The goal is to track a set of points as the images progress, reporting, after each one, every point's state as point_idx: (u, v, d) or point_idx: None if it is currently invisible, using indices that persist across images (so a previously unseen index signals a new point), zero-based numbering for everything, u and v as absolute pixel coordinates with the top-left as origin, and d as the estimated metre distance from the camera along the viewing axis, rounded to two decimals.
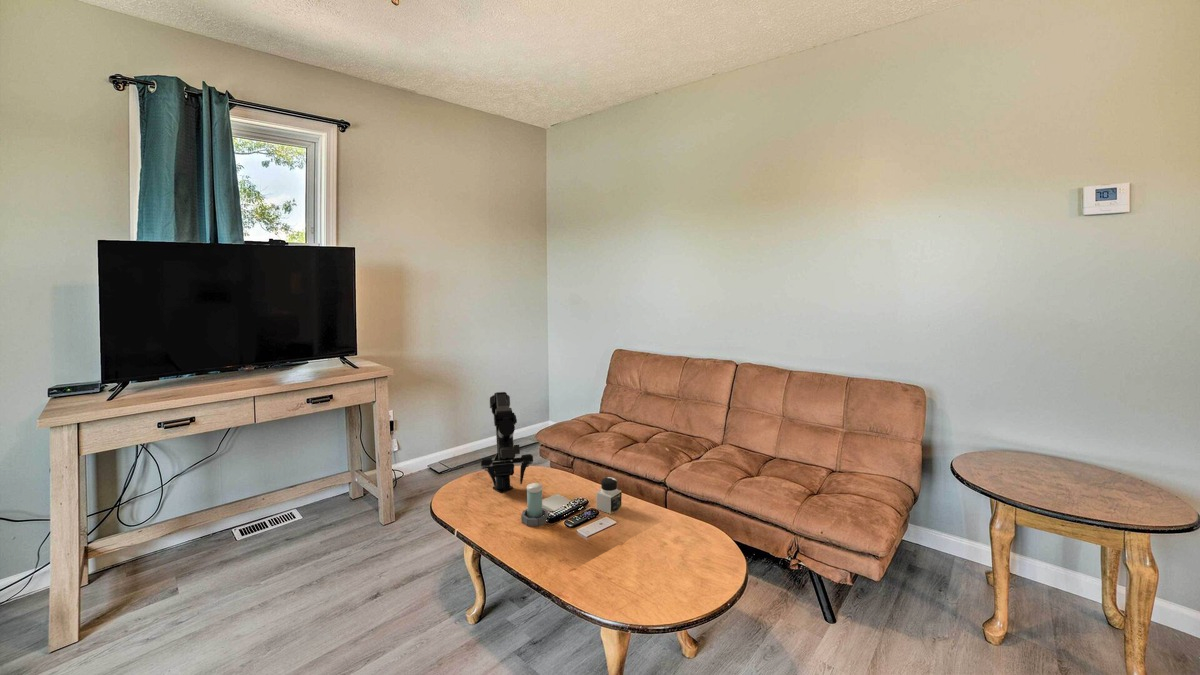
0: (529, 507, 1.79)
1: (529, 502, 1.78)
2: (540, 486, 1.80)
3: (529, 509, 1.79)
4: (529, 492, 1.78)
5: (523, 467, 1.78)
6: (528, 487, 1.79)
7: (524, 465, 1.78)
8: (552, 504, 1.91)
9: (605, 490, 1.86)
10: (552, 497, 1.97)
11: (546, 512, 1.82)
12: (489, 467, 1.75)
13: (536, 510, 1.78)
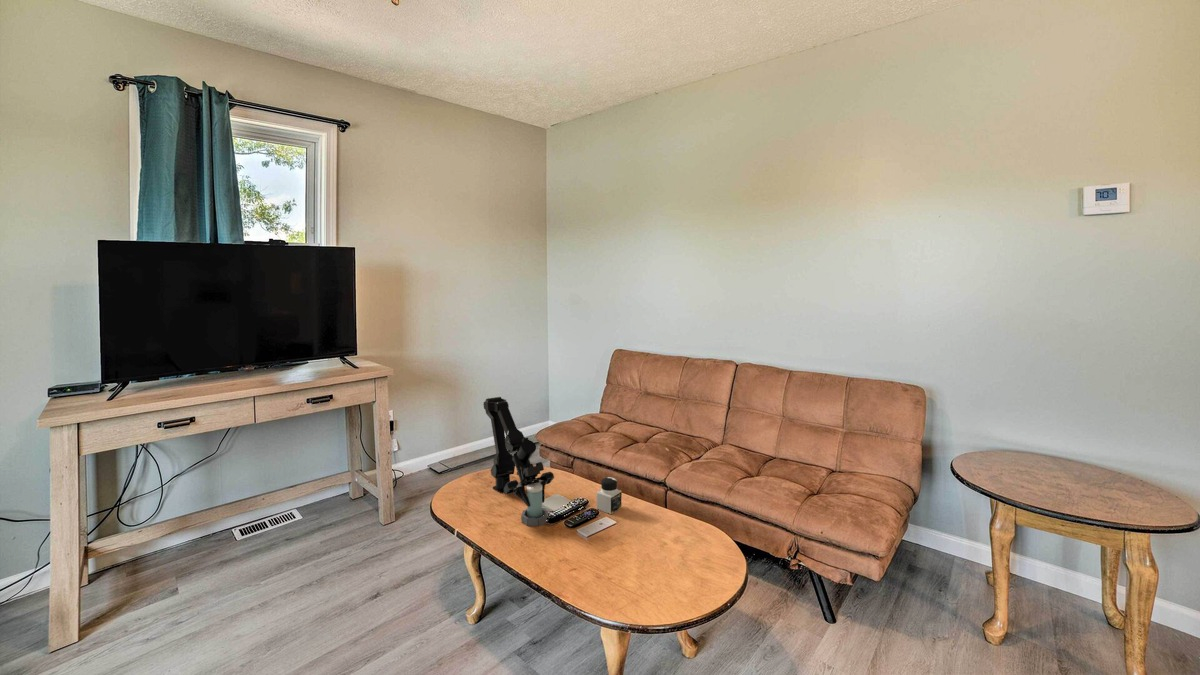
0: (529, 507, 1.79)
1: (529, 502, 1.78)
2: (540, 486, 1.80)
3: (529, 509, 1.79)
4: (529, 492, 1.78)
5: (542, 485, 1.83)
6: (528, 487, 1.79)
7: (543, 483, 1.83)
8: (552, 504, 1.91)
9: (605, 490, 1.86)
10: (552, 497, 1.97)
11: (546, 512, 1.82)
12: (521, 487, 1.78)
13: (536, 510, 1.78)
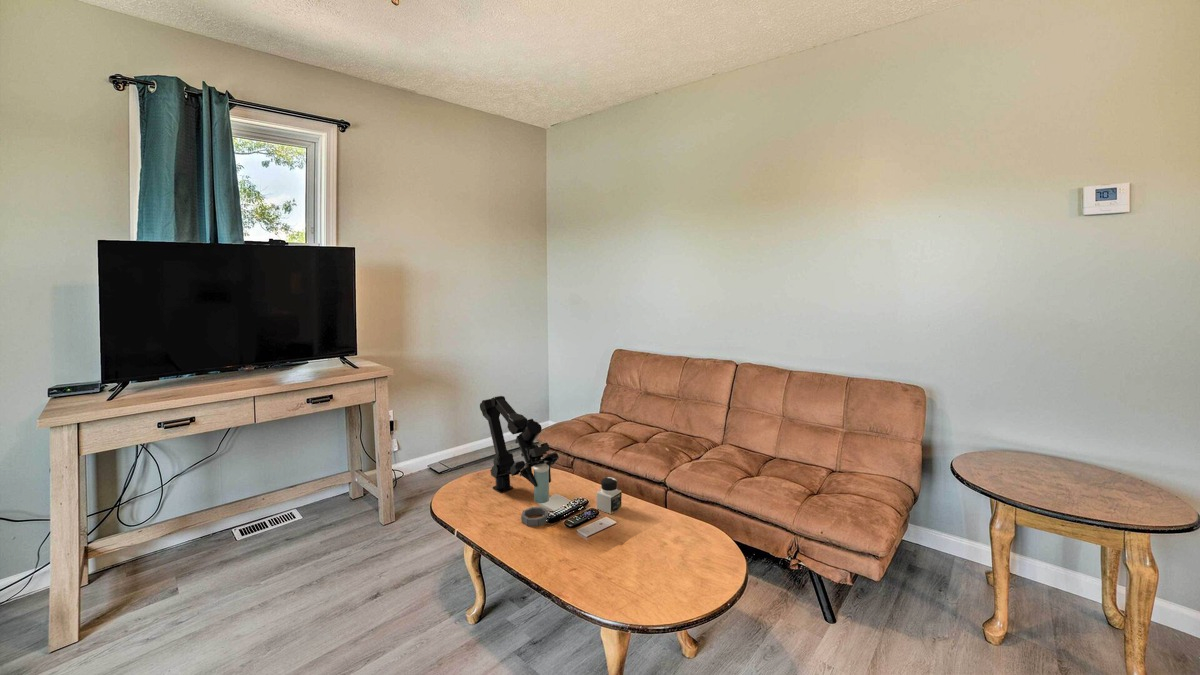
0: (536, 487, 1.79)
1: None
2: (547, 466, 1.81)
3: (536, 489, 1.79)
4: (536, 472, 1.78)
5: None
6: (535, 467, 1.79)
7: (549, 463, 1.84)
8: (552, 504, 1.91)
9: (605, 490, 1.86)
10: (552, 497, 1.97)
11: (546, 512, 1.82)
12: (528, 468, 1.79)
13: (544, 490, 1.79)
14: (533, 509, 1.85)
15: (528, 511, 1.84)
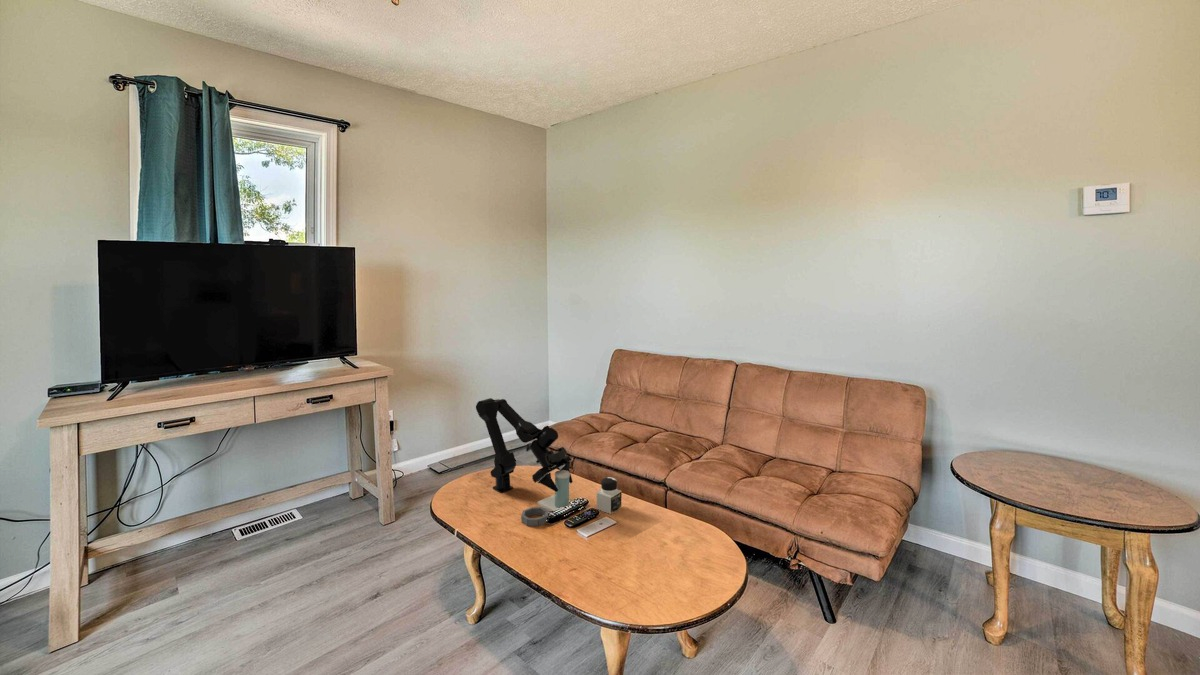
0: (559, 493, 1.87)
1: (560, 488, 1.87)
2: (567, 472, 1.90)
3: (559, 495, 1.87)
4: (560, 479, 1.86)
5: (567, 467, 1.94)
6: (558, 474, 1.87)
7: (568, 465, 1.94)
8: (552, 504, 1.91)
9: (605, 490, 1.86)
10: (552, 497, 1.97)
11: (546, 512, 1.82)
12: (548, 474, 1.84)
13: (566, 495, 1.88)
14: (533, 509, 1.85)
15: (528, 511, 1.84)
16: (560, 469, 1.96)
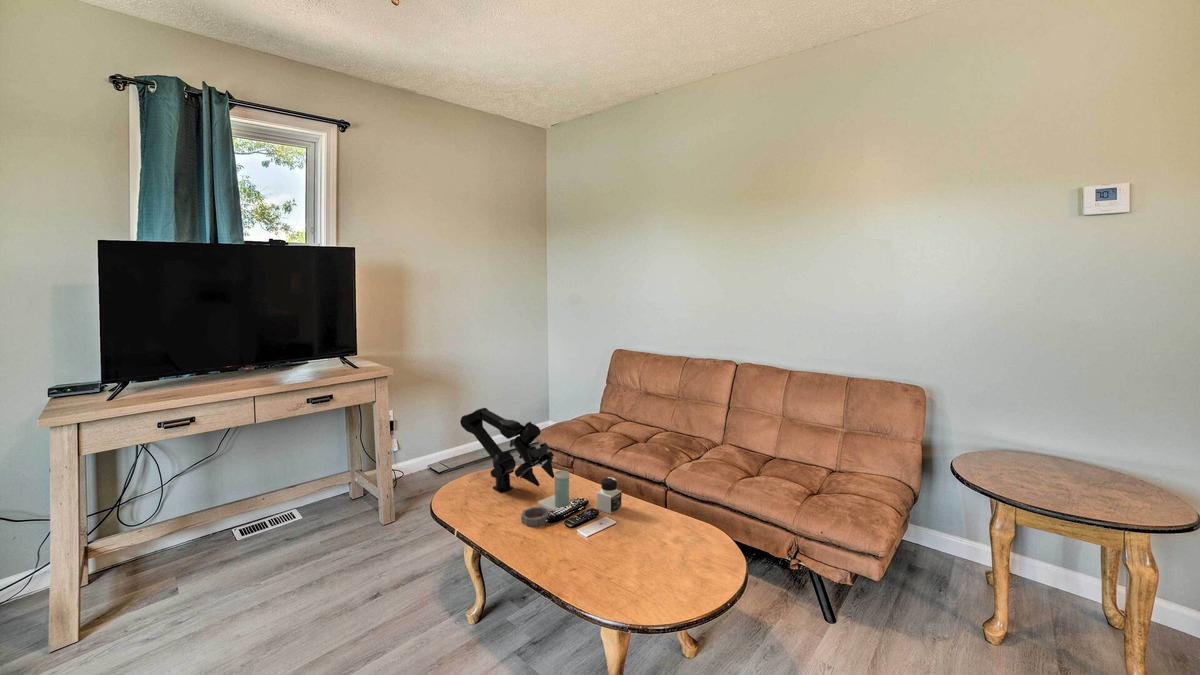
0: (559, 493, 1.87)
1: (559, 489, 1.87)
2: (567, 472, 1.90)
3: (559, 495, 1.87)
4: (560, 479, 1.86)
5: (550, 463, 1.99)
6: (557, 475, 1.87)
7: (550, 460, 1.99)
8: (552, 504, 1.91)
9: (605, 490, 1.86)
10: (552, 497, 1.97)
11: (546, 512, 1.82)
12: (530, 469, 1.89)
13: (566, 495, 1.88)
14: (533, 509, 1.85)
15: (528, 511, 1.84)
16: (543, 464, 2.01)
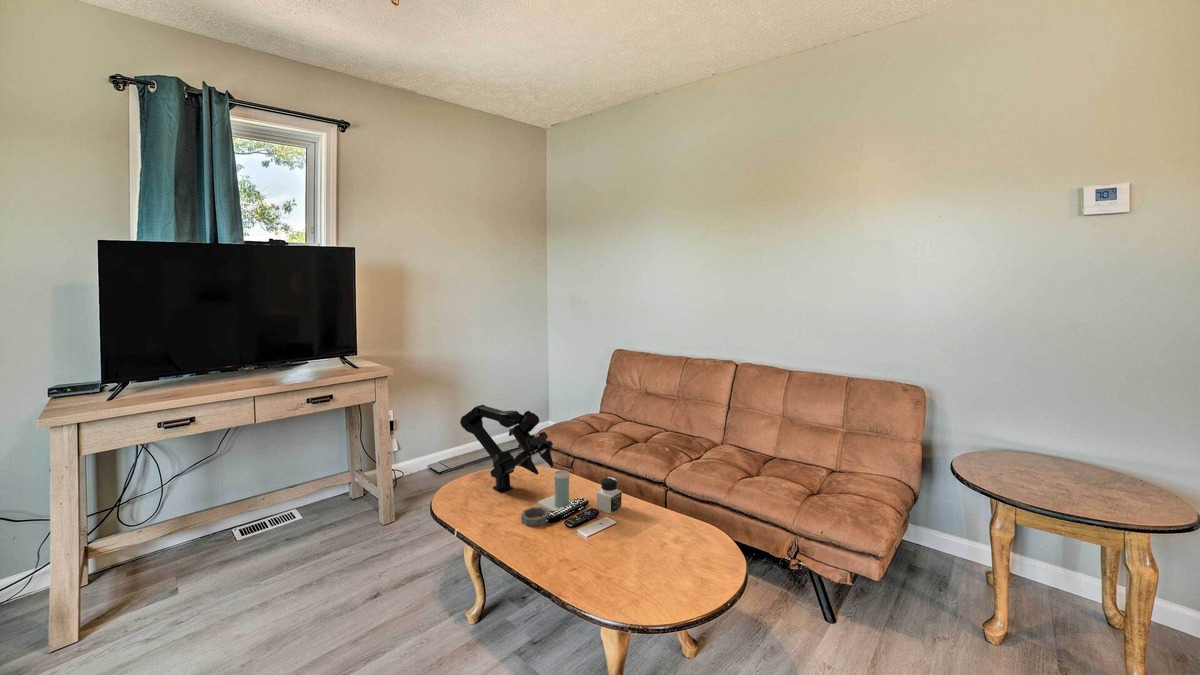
0: (559, 493, 1.87)
1: (559, 489, 1.87)
2: (567, 472, 1.90)
3: (559, 495, 1.87)
4: (560, 479, 1.86)
5: (549, 452, 1.99)
6: (557, 475, 1.87)
7: (549, 449, 1.99)
8: (552, 504, 1.91)
9: (605, 490, 1.86)
10: (552, 497, 1.97)
11: (546, 512, 1.82)
12: (529, 457, 1.88)
13: (566, 495, 1.88)
14: (533, 509, 1.85)
15: (528, 511, 1.84)
16: (542, 453, 2.01)
